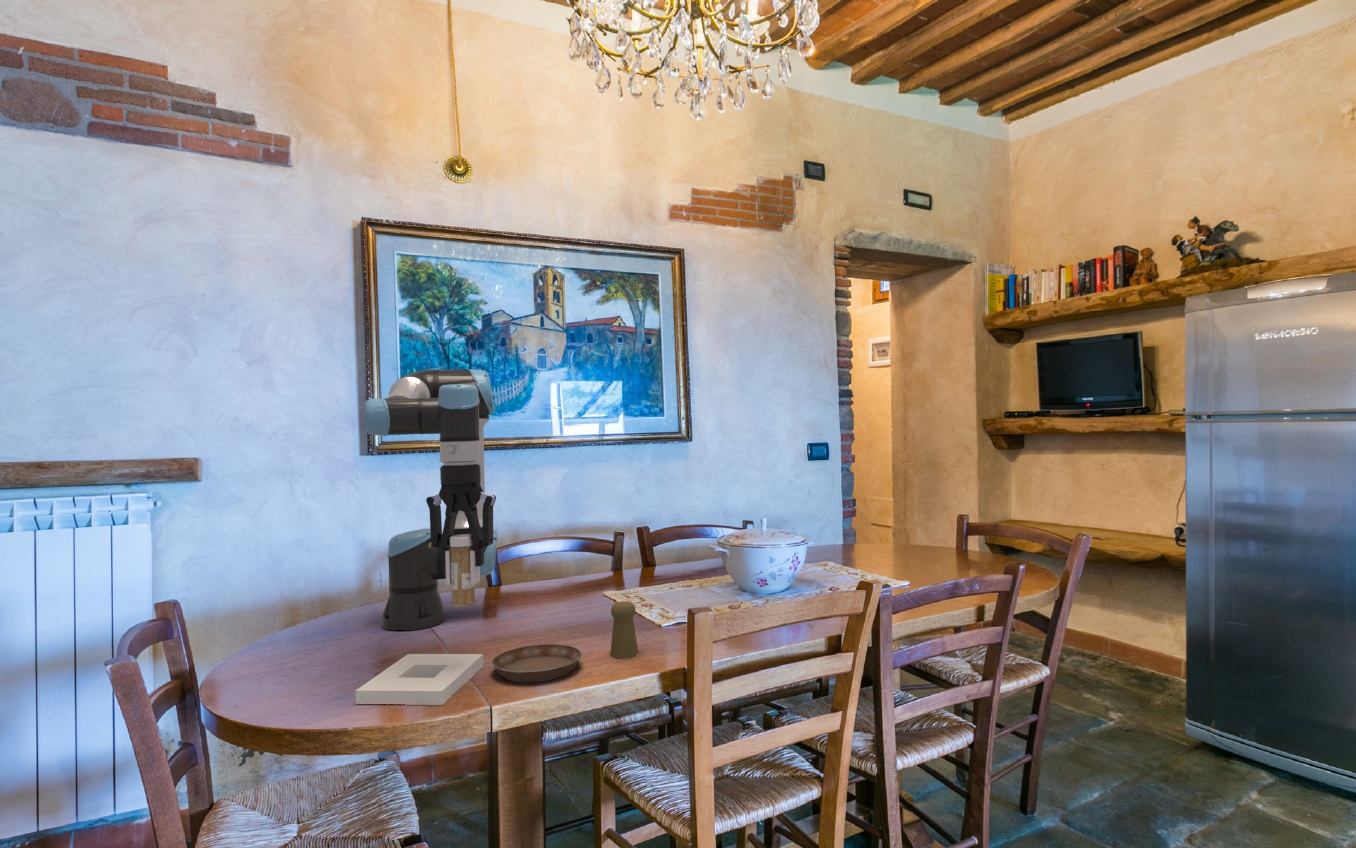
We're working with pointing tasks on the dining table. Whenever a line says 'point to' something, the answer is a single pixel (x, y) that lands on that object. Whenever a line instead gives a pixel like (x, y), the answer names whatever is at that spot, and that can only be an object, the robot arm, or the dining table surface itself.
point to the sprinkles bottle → (461, 571)
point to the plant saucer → (536, 662)
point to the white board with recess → (420, 679)
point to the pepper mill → (623, 631)
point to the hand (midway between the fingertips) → (463, 582)
